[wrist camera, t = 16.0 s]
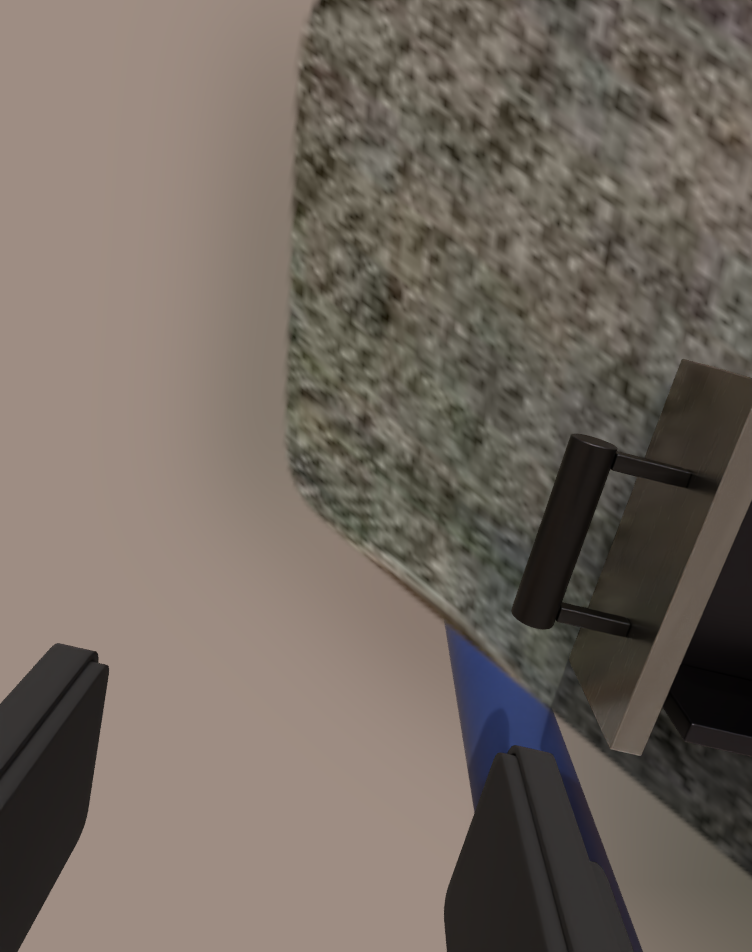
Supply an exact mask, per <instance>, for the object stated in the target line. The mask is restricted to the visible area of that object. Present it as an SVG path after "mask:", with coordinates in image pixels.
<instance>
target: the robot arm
mask: <svg viewBox="0 0 752 952" xmlns="http://www.w3.org/2000/svg"><path fill="white" fill-rule="evenodd" d="M108 675H109V666H108V665H105V664H100V663H98V653H97V652H96V651H91V650H87V649H82V648H77V647H73V646H68V645H64V644H60V643H58V644H55V645H54V646H52V647H51V648H50V649H49V651H47V653H46V654H45V655H44V656H43V657H42V658H41V659H40V660H39V661H38V663H37V664H36V665H35V666H34V667H33V668H32V670H31V671H29V673H28V674H27V675H26V676H25V677H24V678H23V679H22V681H20V683H19V684H18V685H17V686H16V687H15V688H14V689H13V690H12V692H11V693H10V694H9V695H8V696H7V697H6V698H5V699H4V700H3V701H2V703H1V704H0V952H18V950H19V948H20V946H21V944H22V943H23V941H24V939H25V937H26V935H27V933H28V932H29V930H30V928H31V926H32V924H33V922H34V921H35V919H36V917H37V915H38V913H39V911H40V910H41V908H42V906H43V904H44V902H45V900H46V899H47V897H48V895H49V893H50V891H51V889H52V888H53V886H54V884H55V882H56V880H57V878H58V877H59V875H60V873H61V871H62V869H63V868H64V865H65V864H66V862H67V860H68V858H69V857H70V855H71V853H72V851H73V849H74V847H75V846H76V844H77V842H78V840H79V838H80V835H81V833H82V830H83V828H84V825H85V821H86V818H87V813H88V807H89V801H90V794H91V788H92V781H93V775H94V768H95V761H96V755H97V748H98V742H99V735H100V728H101V722H102V715H103V708H104V701H105V695H106V689H107V682H108ZM444 922H445V934H446V944H447V945H446V946H447V952H634V951H633V948H632V945H631V943H630V940H629V937H628V934H627V931H626V929H625V926H624V923H623V920H622V918H621V915H620V912H619V909H618V906H617V904H616V901H615V898H614V895H613V893H612V890H611V887H610V884H609V881H608V879H607V877H606V875H605V873H604V871H603V869H602V868H601V867H600V866H599V865H598V864H597V863H596V862H591V861H590V860H589V857H588V854H587V851H586V848H585V845H584V843H583V840H582V837H581V834H580V831H579V828H578V825H577V822H576V819H575V816H574V813H573V810H572V807H571V804H570V801H569V799H568V796H567V793H566V790H565V787H564V784H563V781H562V778H561V775H560V772H559V769H558V766H557V763H556V760H555V758H554V756H553V755H552V754H551V753H548V752H543V751H539V750H534V749H530V748H525V747H521V746H517V745H514V746H512V747H511V748H510V749H509V751H508V753H507V754H505V753H497V755H496V756H495V758H494V760H493V763H492V766H491V769H490V772H489V774H488V777H487V780H486V783H485V786H484V788H483V791H482V794H481V797H480V799H479V802H478V805H477V808H476V811H475V814H474V816H473V819H472V822H471V825H470V827H469V831H468V833H467V836H466V839H465V842H464V844H463V847H462V850H461V853H460V855H459V858H458V861H457V864H456V867H455V869H454V872H453V875H452V878H451V880H450V884H449V886H448V890H447V893H446V898H445V906H444Z"/></svg>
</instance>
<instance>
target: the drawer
mask: <svg viewBox="0 0 752 952" xmlns="http://www.w3.org/2000/svg"><path fill="white" fill-rule="evenodd" d="M610 469H611V470H613V471H617V472H621V473H625V474H629V475H633V476H637V479H636V482H635V485H634V487H633V490H632V493H631V495H630V498H629V501H628V503H627V506H626V509H625V511H624V514H623V517H622V519H621V522H620V524H619V527H618V530H617V532H616V535H615V538H614V540H613V543H612V546H611V548H610V551H609V554H608V556H607V559H606V562H605V564H604V567H603V570H602V572H601V575H600V577H599V580H598V583H597V585H596V588H595V591H594V593H593V596H592V599H591V601H590V604H589V607H588V608H584V607H580V606H576V605H571V604H567V603H563V602H562V600H563V597H564V595H565V592H566V589H567V586H568V584H569V581H570V578H571V575H572V573H573V570H574V567H575V564H576V562H577V559H578V556H579V553H580V551H581V548H582V545H583V542H584V540H585V537H586V534H587V531H588V529H589V526H590V523H591V520H592V518H593V515H594V512H595V509H596V507H597V504H598V501H599V498H600V496H601V493H602V490H603V487H604V485H605V482H606V479H607V476H608V474H609V471H610ZM511 611H512V614H513V616H514V617H515V618H516V619H517V620H519V621H520V622H522V623H524V624H526V625H528V626H530V627H533V628H537V629H550V628H552V627H553V625H554V622H555V619H556V621H557V622H561V623H565V624H569V625H573V626H578V627H581V628H580V631H579V633H578V636H577V638H576V641H575V644H574V646H573V649H572V652H571V654H570V657H569V661H570V664H571V666H572V668H573V670H574V672H575V674H576V676H577V679H578V681H579V683H580V685H581V687H582V689H583V692H584V694H585V696H586V698H587V700H588V702H589V704H590V707H591V709H592V711H593V713H594V715H595V717H596V720H597V722H598V724H599V726H600V728H601V730H602V733H603V735H604V737H605V739H606V741H607V743H608V745H609V748H610V749H612V750H616V751H621V752H625V753H630V754H634V755H639V756H641V755H642V753H643V750H644V748H645V746H646V744H647V741H648V739H649V737H650V734H651V732H652V730H653V727H654V725H655V723H656V720H657V718H658V716H659V714H660V711H661V709H662V707H663V708H664V710H665V711H666V713H667V715H668V716H669V718H670V719H671V721H672V723H673V724H674V726H675V727H676V729H677V731H678V732H679V734H680V735H681V737H682V738H683V740H684V741H685V742H689V743H693V744H698V745H702V746H706V747H711V748H715V749H720V750H724V751H729V752H733V753H737V754H742V755H746V756H751V757H752V378H750V377H747V376H743V375H740V374H736V373H733V372H729V371H726V370H723V369H719V368H716V367H712V366H709V365H705V364H701V363H697V362H693V361H689V360H685V359H682V360H681V363H680V365H679V368H678V371H677V373H676V376H675V379H674V381H673V384H672V387H671V389H670V392H669V395H668V397H667V400H666V403H665V405H664V408H663V410H662V413H661V416H660V418H659V421H658V424H657V426H656V429H655V432H654V434H653V437H652V440H651V442H650V445H649V448H648V450H647V453H646V456H645V458H642V457H638V456H634V455H630V454H626V453H622V452H618V451H617V447H616V446H614V445H613V444H611V443H608V442H606V441H603V440H600V439H597V438H594V437H591V436H587V435H582V434H572V435H571V436H570V439H569V442H568V445H567V448H566V451H565V454H564V457H563V460H562V463H561V466H560V469H559V472H558V475H557V477H556V480H555V483H554V486H553V489H552V492H551V495H550V498H549V501H548V504H547V507H546V510H545V513H544V516H543V519H542V522H541V524H540V527H539V530H538V533H537V536H536V539H535V542H534V545H533V548H532V551H531V554H530V557H529V560H528V563H527V566H526V568H525V571H524V574H523V577H522V580H521V583H520V586H519V589H518V592H517V595H516V598H515V601H514V604H513V607H512V610H511Z"/></svg>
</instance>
